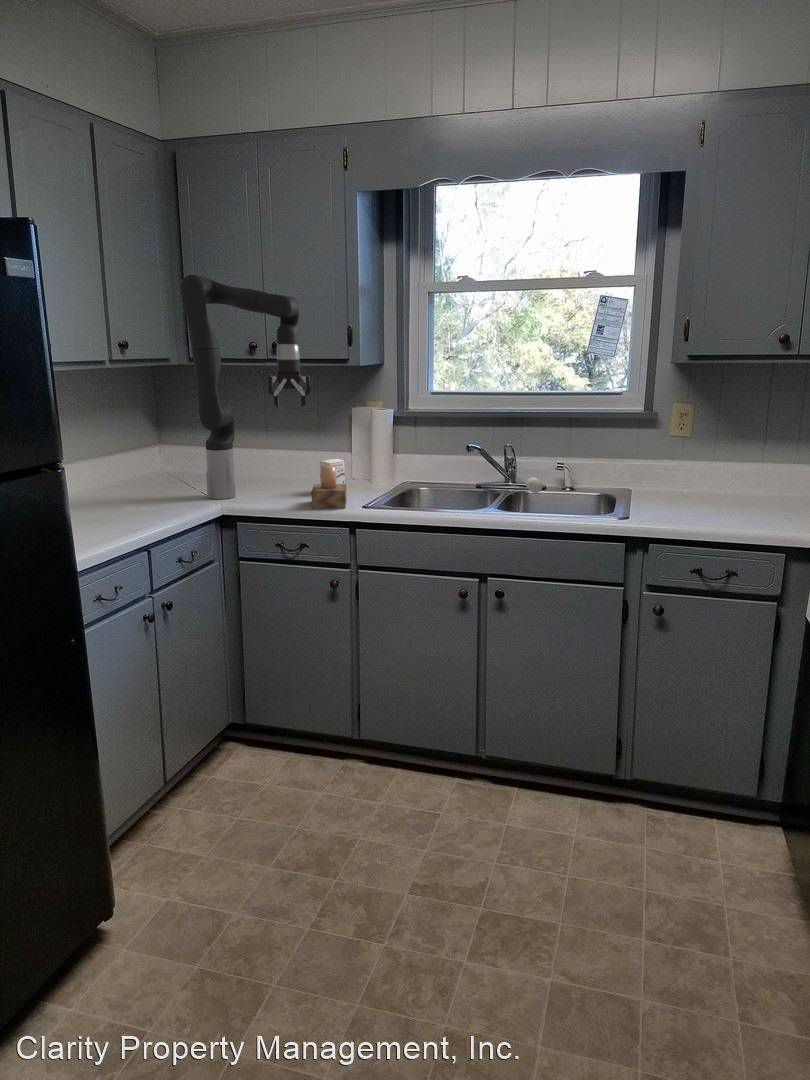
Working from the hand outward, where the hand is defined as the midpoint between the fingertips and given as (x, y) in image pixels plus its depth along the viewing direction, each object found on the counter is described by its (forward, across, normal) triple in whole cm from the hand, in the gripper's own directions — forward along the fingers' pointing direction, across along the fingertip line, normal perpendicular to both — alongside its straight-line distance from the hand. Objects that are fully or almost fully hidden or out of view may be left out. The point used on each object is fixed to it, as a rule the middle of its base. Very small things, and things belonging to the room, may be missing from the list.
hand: (290, 407), depth 271 cm
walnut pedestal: (+32, +13, -10) cm, 36 cm away
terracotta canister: (+26, +13, -10) cm, 31 cm away
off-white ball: (+30, +86, +7) cm, 92 cm away
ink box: (+32, +13, +12) cm, 37 cm away
